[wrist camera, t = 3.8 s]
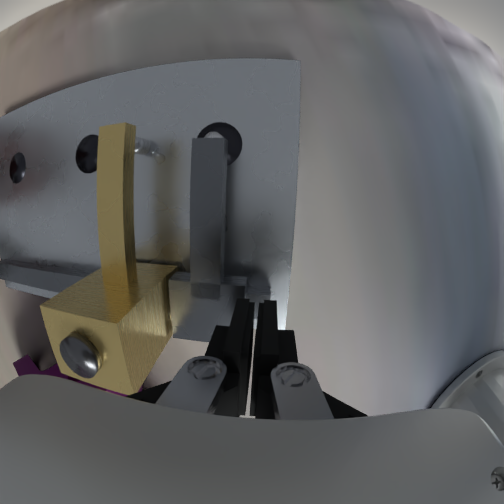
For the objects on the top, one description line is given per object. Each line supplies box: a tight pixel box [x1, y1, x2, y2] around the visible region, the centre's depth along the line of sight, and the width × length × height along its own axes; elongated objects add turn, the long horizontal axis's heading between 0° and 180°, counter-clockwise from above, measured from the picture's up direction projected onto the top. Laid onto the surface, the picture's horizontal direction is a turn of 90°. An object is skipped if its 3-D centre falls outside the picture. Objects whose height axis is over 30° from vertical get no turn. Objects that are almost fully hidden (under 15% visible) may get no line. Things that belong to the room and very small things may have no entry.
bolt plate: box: [0, 58, 300, 330], centre depth 15 cm, size 24×15×1 cm, turn 88°
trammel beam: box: [0, 132, 271, 342], centre depth 14 cm, size 22×10×3 cm, turn 88°
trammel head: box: [40, 122, 178, 395], centre depth 11 cm, size 4×10×7 cm, turn 178°
